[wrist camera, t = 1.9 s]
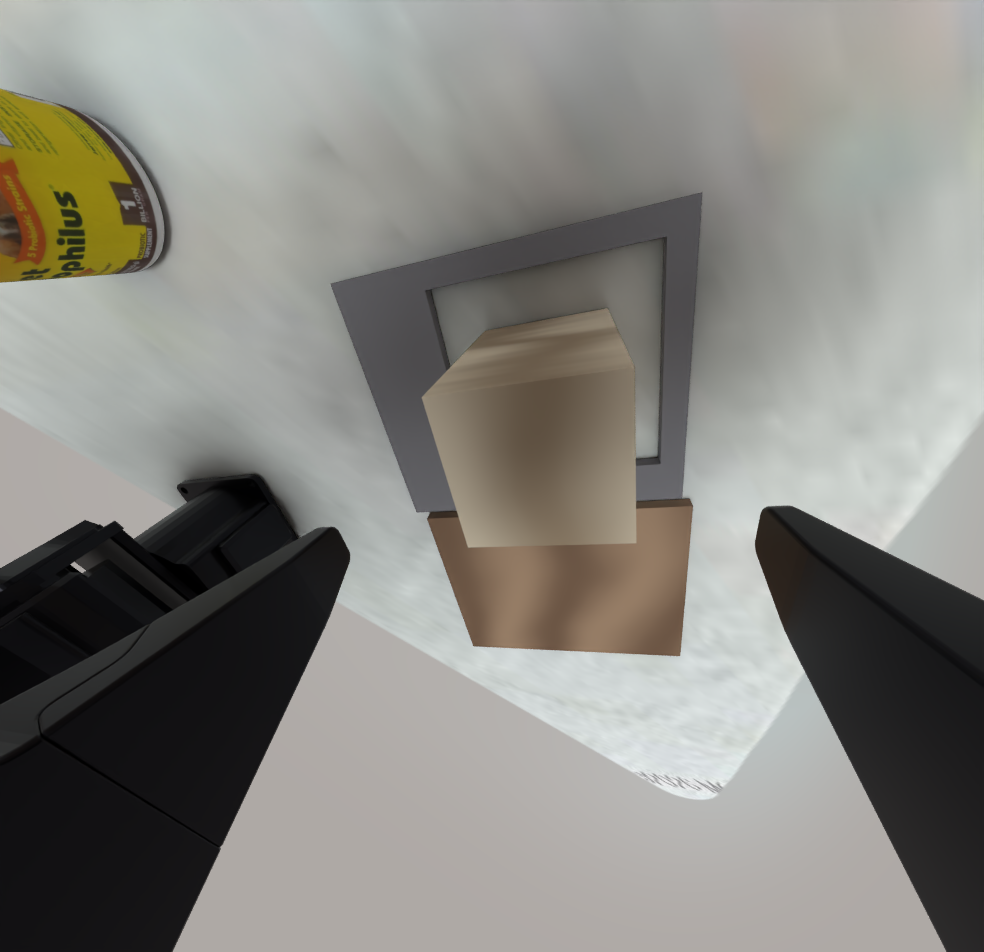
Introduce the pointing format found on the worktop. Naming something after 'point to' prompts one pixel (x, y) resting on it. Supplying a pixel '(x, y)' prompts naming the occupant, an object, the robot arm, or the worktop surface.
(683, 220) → the mat
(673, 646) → the board
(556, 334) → the beige wooden block
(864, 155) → the worktop surface
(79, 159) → the supplement bottle
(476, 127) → the worktop surface
